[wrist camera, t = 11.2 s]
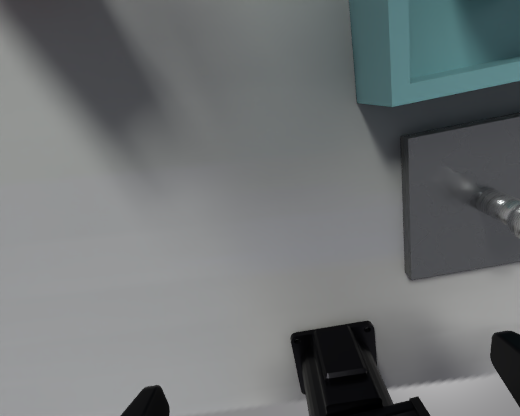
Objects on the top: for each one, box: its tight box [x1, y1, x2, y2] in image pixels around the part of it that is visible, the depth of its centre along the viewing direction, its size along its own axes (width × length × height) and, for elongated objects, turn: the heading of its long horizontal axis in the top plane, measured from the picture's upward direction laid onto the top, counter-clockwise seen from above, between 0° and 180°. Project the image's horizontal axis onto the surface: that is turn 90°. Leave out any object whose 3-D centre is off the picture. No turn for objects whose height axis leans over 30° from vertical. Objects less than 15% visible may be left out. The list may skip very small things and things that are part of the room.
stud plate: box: [401, 113, 520, 280], centre depth 18 cm, size 10×10×5 cm
